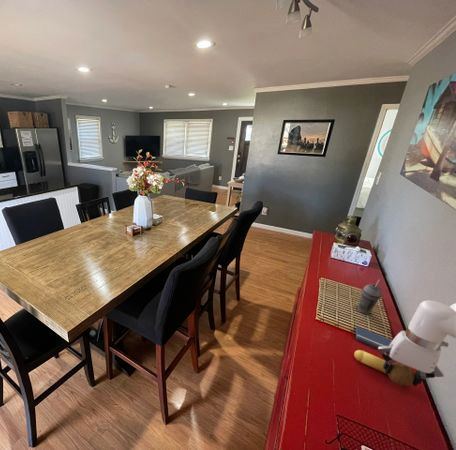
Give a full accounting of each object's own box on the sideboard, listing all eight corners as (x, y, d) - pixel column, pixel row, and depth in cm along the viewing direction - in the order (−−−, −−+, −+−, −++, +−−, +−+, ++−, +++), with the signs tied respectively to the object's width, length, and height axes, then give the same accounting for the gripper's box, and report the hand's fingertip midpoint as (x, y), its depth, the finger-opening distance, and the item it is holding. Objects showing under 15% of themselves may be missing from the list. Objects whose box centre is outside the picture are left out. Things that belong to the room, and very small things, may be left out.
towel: (390, 342, 104) (392, 339, 103) (392, 354, 98) (394, 352, 97) (356, 328, 110) (357, 325, 110) (356, 339, 105) (357, 336, 104)
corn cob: (401, 375, 90) (406, 367, 88) (402, 384, 87) (408, 376, 85) (352, 353, 98) (356, 345, 96) (352, 360, 95) (356, 352, 93)
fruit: (382, 370, 87) (390, 354, 84) (405, 379, 84) (415, 363, 81) (386, 385, 82) (395, 369, 79) (411, 395, 79) (422, 378, 76)
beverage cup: (371, 309, 122) (387, 277, 115) (373, 318, 117) (391, 284, 109) (353, 303, 126) (368, 272, 118) (355, 312, 120) (370, 279, 112)
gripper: (459, 344, 73) (433, 383, 80) (384, 318, 83) (366, 355, 89) (468, 361, 67) (439, 402, 74) (386, 331, 77) (367, 370, 84)
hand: (399, 376), depth 82 cm, fingers closed on fruit, 6 cm apart
